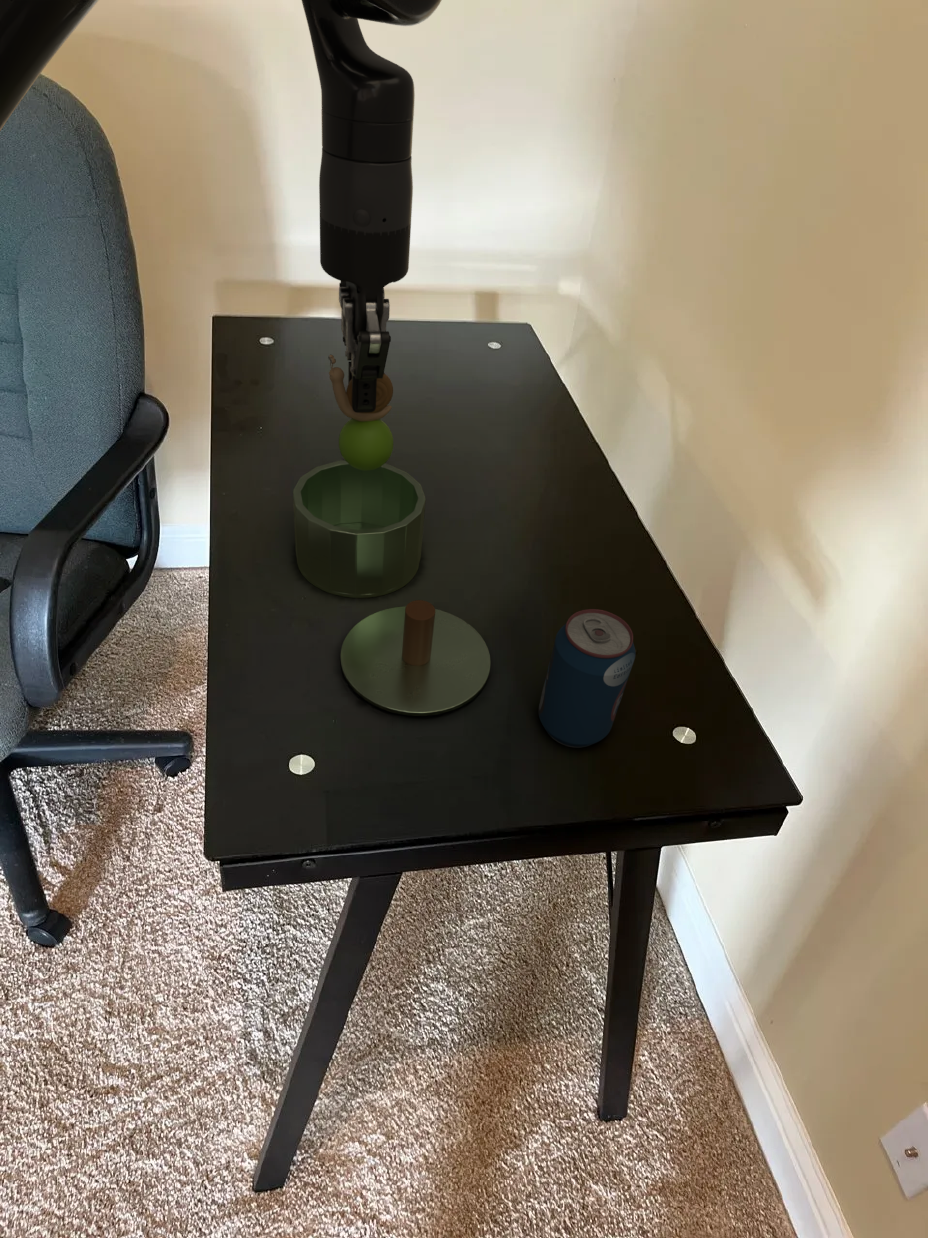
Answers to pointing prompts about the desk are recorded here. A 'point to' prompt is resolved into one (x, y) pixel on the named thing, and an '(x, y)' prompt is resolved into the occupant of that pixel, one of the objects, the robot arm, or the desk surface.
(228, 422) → the desk surface
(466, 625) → the pot lid
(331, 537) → the pot
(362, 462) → the snail figurine
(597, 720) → the soda can
